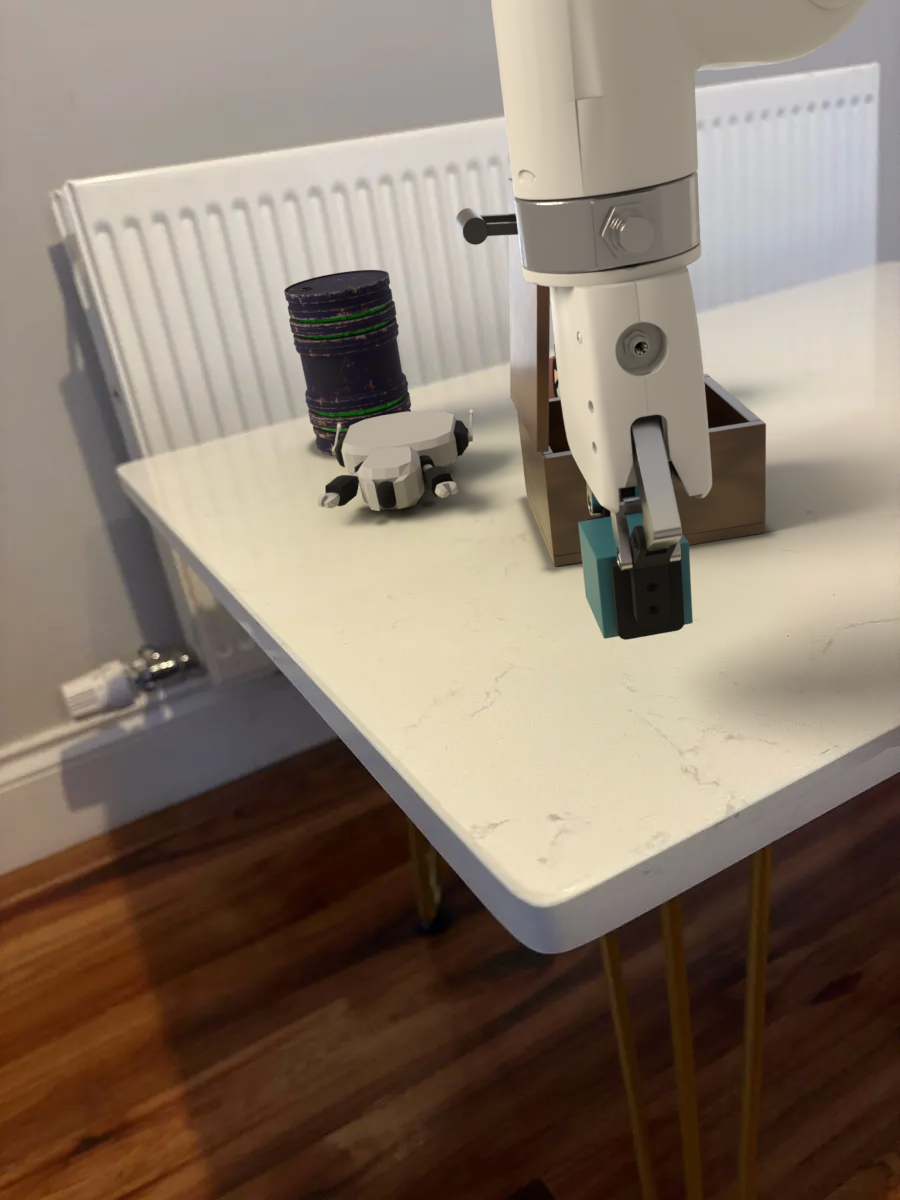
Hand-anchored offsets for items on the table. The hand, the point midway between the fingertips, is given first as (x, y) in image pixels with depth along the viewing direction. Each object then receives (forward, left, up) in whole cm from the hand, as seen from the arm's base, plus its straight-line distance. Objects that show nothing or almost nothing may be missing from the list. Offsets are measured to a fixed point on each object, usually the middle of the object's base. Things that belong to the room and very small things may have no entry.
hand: (637, 603), depth 52 cm
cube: (0, 0, 0) cm, 0 cm away
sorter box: (-6, -24, -6) cm, 25 cm away
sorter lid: (+1, -24, +10) cm, 26 cm away
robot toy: (+11, -37, -6) cm, 39 cm away
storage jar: (+14, -52, -6) cm, 54 cm away
